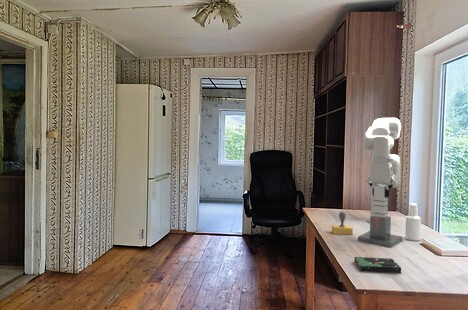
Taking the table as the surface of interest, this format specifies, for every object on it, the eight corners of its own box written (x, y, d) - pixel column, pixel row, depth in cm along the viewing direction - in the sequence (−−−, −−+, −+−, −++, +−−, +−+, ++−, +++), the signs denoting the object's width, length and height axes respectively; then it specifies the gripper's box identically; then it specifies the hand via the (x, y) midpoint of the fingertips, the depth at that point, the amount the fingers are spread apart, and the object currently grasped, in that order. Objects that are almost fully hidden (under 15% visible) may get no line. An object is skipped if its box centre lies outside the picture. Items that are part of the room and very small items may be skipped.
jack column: (376, 227, 168) (377, 184, 168) (387, 229, 165) (388, 185, 164) (373, 229, 165) (373, 185, 164) (383, 231, 161) (384, 186, 160)
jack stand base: (370, 234, 176) (370, 212, 176) (402, 240, 165) (402, 216, 165) (357, 240, 165) (358, 216, 164) (391, 247, 154) (392, 222, 153)
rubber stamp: (333, 234, 176) (334, 212, 176) (331, 231, 182) (332, 210, 182) (352, 235, 175) (353, 212, 175) (350, 232, 181) (350, 210, 181)
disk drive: (391, 265, 133) (353, 263, 134) (391, 258, 133) (353, 256, 134) (401, 275, 122) (360, 272, 124) (401, 267, 122) (360, 265, 124)
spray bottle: (418, 237, 170) (419, 203, 170) (421, 241, 164) (422, 205, 163) (404, 236, 173) (404, 202, 172) (406, 239, 166) (407, 204, 166)
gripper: (402, 160, 161) (401, 197, 161) (367, 159, 172) (366, 194, 173) (397, 161, 155) (396, 199, 156) (361, 160, 167) (360, 195, 167)
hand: (380, 196), depth 164 cm, fingers closed on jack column, 5 cm apart
